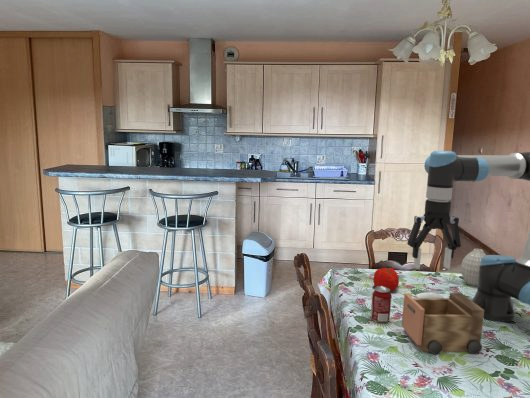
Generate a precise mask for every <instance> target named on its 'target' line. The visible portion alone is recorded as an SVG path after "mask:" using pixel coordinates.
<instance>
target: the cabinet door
mask: <svg viewBox="0 0 530 398" xmlns="http://www.w3.org/2000/svg"><path fill="white" fill-rule="evenodd" d="M403 297H404V298H403V306H402V307H403V308H402V318H401V327H402V329H404V331H406V332H407V333H408V334H409V335H410V336H409V335H408V334H407V333H406V332H405V333H406V334H407V335H408V336H409V338H410V337H411V338H412V339H413V340H414V341H415V342H414V341H413V340H412V339H411V338H410V339H411V340H412V341H413V342H414V344H415V343H416V344H417V345H421V342H422V332H423V322H424V312H425V309H424V308H422V307H421V306H420V305H419V304H418V303H417V302H416V301H415V300H414V299H413V298H414V297H412V295H410V294H409V293H404V296H403ZM416 344H415V345H416ZM417 345H416V346H417Z"/></svg>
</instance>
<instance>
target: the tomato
mask: <svg viewBox="0 0 530 398" xmlns="http://www.w3.org/2000/svg"><path fill="white" fill-rule="evenodd" d="M372 278H373V279H372V280H373V281H372V282H373V285H374V288H375V287H377V286H382V287H387V288H389V289H390V292H391V291H396V289H398V287H399V282H400V279H399V275H398V273H397V271H396V270H395V268H393V267H392V268H391V267H390V268H387V267H382V268H378V269H376V270H375V272H374V273H373V277H372Z"/></svg>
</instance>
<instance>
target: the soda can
mask: <svg viewBox="0 0 530 398" xmlns="http://www.w3.org/2000/svg"><path fill="white" fill-rule="evenodd" d="M371 295H372V296H371V307H370V308H371V309H370V318H371V320H373V321H374V322H376V323H379V324H380V323H381V324H383V323H388V322H389V321H390V317H391V306H392V293H391V291H390V289H389V288H387V287H382V286H377V287H375V286H374V290H373V291H372V293H371Z"/></svg>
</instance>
